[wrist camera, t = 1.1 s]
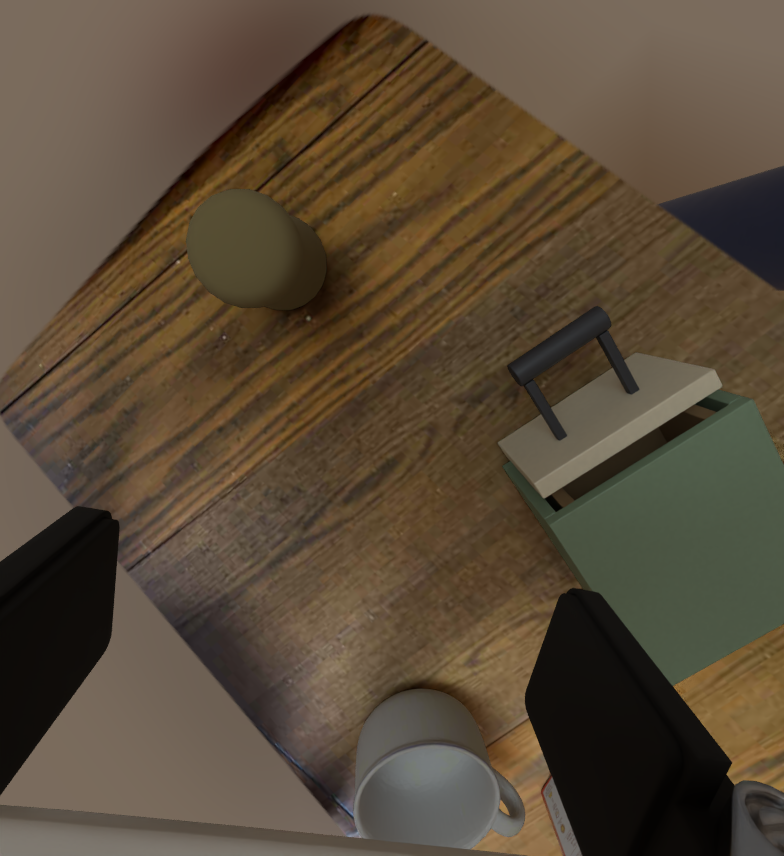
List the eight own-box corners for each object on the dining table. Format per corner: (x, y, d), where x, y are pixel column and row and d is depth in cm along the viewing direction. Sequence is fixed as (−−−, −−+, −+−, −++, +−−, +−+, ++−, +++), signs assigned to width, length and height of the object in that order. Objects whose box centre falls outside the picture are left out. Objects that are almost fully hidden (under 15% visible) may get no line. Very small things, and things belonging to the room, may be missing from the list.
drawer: (454, 377, 33) (480, 402, 25) (598, 280, 32) (670, 276, 24) (583, 574, 38) (637, 644, 30) (712, 497, 37) (802, 549, 29)
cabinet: (501, 465, 36) (549, 525, 27) (649, 370, 34) (753, 398, 25) (590, 600, 40) (659, 693, 30) (727, 519, 38) (843, 591, 29)
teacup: (331, 732, 42) (323, 831, 34) (404, 645, 40) (414, 730, 32) (454, 795, 45) (473, 900, 37) (529, 717, 43) (565, 811, 35)
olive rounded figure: (343, 283, 32) (332, 278, 21) (265, 326, 32) (216, 343, 22) (296, 194, 30) (259, 141, 20) (215, 241, 31) (135, 214, 20)
